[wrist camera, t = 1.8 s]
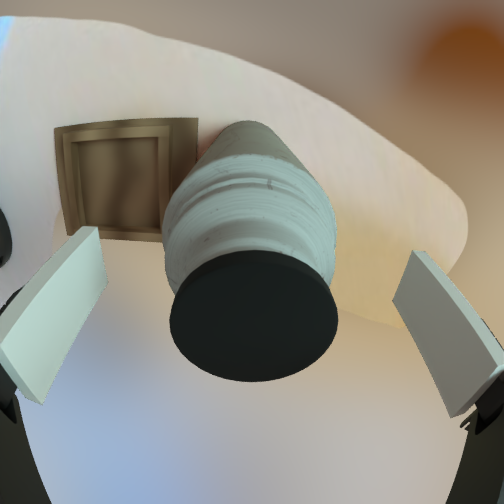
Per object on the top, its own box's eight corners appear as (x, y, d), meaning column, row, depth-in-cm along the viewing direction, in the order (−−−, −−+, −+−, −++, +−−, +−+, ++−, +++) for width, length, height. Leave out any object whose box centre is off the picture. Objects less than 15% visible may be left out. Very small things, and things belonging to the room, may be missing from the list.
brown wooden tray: (69, 233, 36) (61, 241, 34) (56, 127, 29) (46, 130, 26) (195, 241, 38) (192, 250, 36) (198, 117, 30) (194, 119, 28)
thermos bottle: (208, 178, 33) (126, 387, 9) (220, 114, 30) (108, 175, 5) (272, 191, 34) (325, 412, 10) (289, 129, 31) (435, 245, 6)
